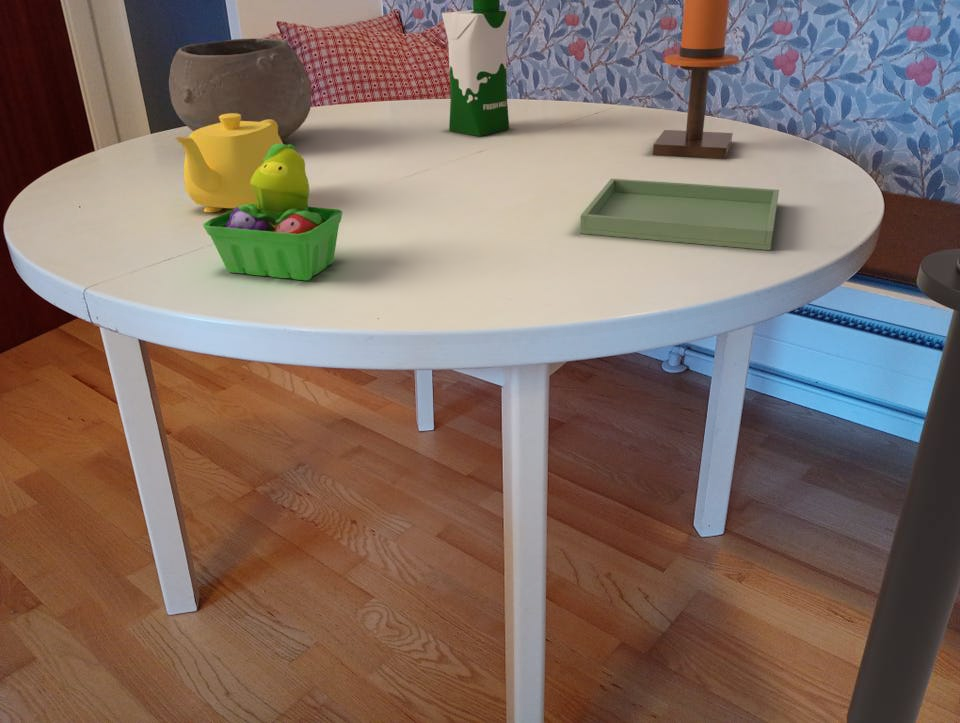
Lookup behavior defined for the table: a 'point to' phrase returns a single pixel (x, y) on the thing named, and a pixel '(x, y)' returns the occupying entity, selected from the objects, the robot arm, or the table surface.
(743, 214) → the tray
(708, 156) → the stand
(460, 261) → the table surface
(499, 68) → the milk carton
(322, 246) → the fruit basket
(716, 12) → the hat
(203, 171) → the teapot
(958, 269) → the robot arm
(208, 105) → the clay pot
